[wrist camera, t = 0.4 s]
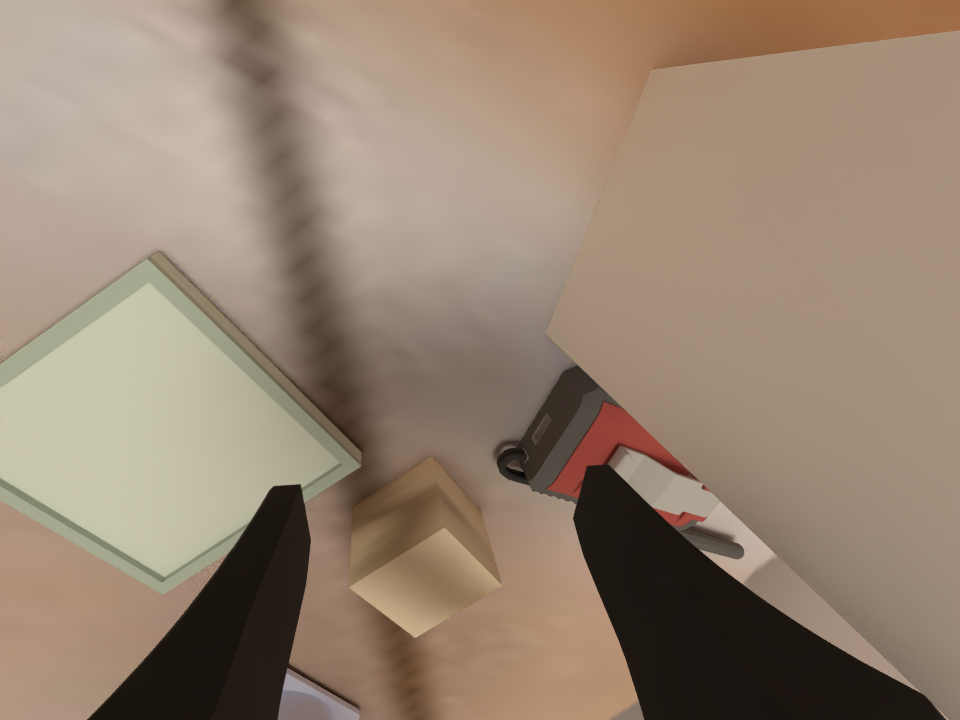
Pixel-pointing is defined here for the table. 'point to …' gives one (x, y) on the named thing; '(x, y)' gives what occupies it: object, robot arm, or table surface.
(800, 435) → the milk
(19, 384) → the sage tile
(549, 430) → the walkie-talkie
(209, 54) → the table surface
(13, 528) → the table surface
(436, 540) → the beech cube
